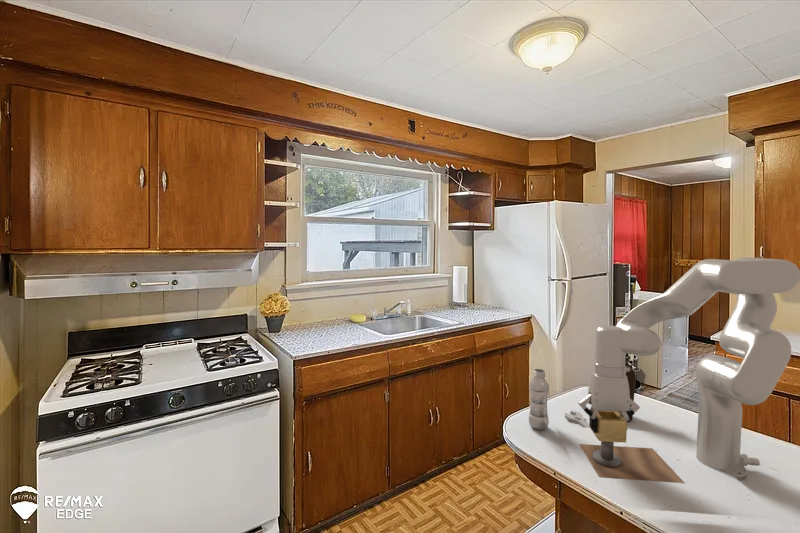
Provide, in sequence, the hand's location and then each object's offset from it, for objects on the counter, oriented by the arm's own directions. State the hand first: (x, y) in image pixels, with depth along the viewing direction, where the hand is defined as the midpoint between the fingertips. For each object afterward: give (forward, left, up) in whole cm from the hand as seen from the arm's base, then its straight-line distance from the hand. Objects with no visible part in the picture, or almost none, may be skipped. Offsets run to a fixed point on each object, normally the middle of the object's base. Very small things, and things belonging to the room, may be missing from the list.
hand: (607, 431), depth 112 cm
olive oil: (-15, -33, -10) cm, 38 cm away
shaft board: (-5, 0, -10) cm, 12 cm away
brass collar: (0, 0, -1) cm, 1 cm away
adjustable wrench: (-2, -21, -11) cm, 24 cm away
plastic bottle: (+15, -21, -10) cm, 28 cm away
